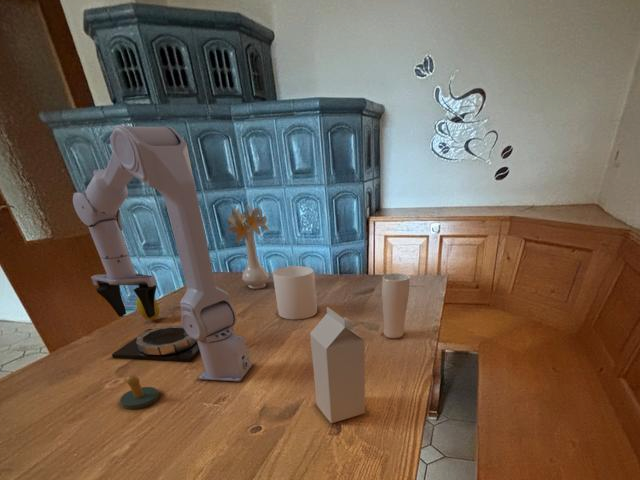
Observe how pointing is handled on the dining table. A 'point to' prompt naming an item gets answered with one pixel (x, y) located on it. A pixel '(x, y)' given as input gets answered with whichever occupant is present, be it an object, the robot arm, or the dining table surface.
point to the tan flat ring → (164, 348)
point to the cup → (295, 292)
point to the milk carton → (338, 367)
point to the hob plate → (182, 356)
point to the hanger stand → (138, 395)
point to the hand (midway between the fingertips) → (137, 315)
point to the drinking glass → (394, 303)
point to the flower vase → (250, 243)
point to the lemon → (142, 311)
